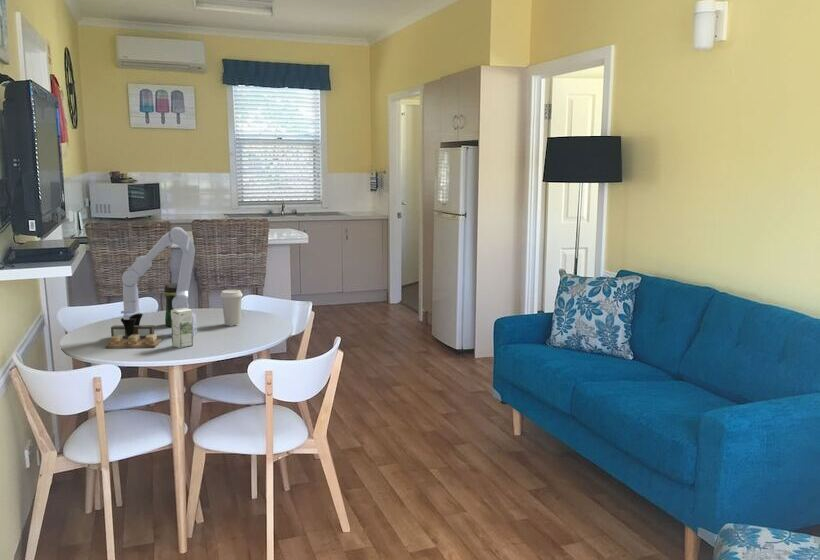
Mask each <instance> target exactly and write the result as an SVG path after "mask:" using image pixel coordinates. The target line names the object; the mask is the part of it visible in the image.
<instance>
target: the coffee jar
mask: <svg viewBox="0 0 820 560" xmlns="http://www.w3.org/2000/svg"><path fill="white" fill-rule="evenodd" d="M177 285H178V282H172V283H165V284H164V290H163V293H164V296H165V300H166V301H165V303H166V304H165V315H164V317H165V318H164V319H165V320H164V321H165V325H166V326H167V327H171V310H173V306H172V300H173V298H174V297H175V295H176V290H177Z"/></svg>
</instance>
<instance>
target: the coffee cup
mask: <svg viewBox="0 0 820 560" xmlns="http://www.w3.org/2000/svg"><path fill="white" fill-rule="evenodd" d="M243 295H244V294H243V293H242V291H241V290H240V289H226V290H222V291H221V294H220V296H219V297H220V298H221V304H222V312H223V313H222V314H223V320H224V326H225V325H237V324H240V325H241V318H242V317H241V315H242V299H243Z"/></svg>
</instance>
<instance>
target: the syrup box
mask: <svg viewBox="0 0 820 560" xmlns="http://www.w3.org/2000/svg"><path fill="white" fill-rule="evenodd" d="M192 313H193V310H192V309H191V308H189V309H188V308H180V309H174V310H171V326H170V327H171V333H172V336H171V346H172V347H175V348H178V349H183V348H187V347H188V346H189V347H192V346H194V337H193V336H194V335H193V328H192Z"/></svg>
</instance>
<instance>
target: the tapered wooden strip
mask: <svg viewBox="0 0 820 560" xmlns="http://www.w3.org/2000/svg"><path fill="white" fill-rule="evenodd" d="M110 334H111V335H110V336H111V337H112V336H114V335H123V338H128V337H129V336H127V333H126V329H125V327H124V325H123V324H122V325H118V324H117V325H111V327H110ZM138 334H140V339H145V337H146V336H148V335H149V334H155V325H154V324H150V325H149V324H139V325H134V334H133V335H138ZM111 337H110V338H111Z"/></svg>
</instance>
